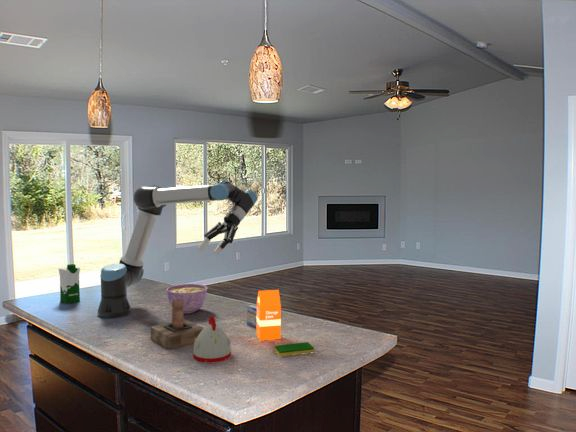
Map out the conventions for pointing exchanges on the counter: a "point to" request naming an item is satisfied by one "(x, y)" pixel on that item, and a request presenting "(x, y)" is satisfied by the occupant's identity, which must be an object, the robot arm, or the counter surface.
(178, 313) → the terracotta peg
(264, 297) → the orange juice
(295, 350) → the dish sponge
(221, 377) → the counter surface
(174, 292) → the bowl of food
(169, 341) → the walnut socket block
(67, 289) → the milk carton
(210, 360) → the kitchen timer
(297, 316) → the counter surface
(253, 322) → the medicine box
